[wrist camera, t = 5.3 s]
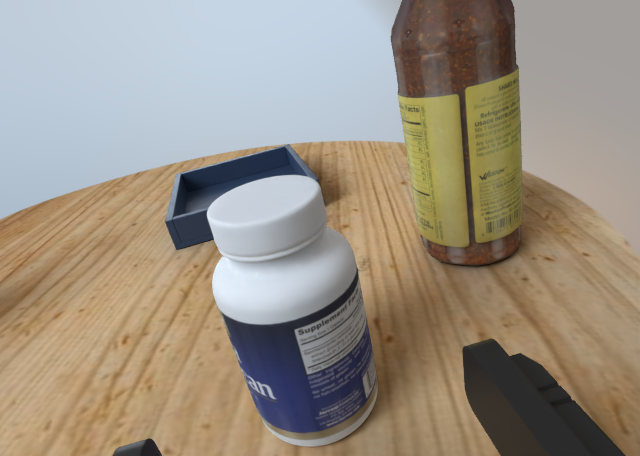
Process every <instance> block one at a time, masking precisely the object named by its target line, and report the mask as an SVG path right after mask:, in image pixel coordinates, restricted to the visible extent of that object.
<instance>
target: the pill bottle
mask: <svg viewBox="0 0 640 456" xmlns="http://www.w3.org/2000/svg"><path fill="white" fill-rule="evenodd" d="M207 218H208V222H209V225H210V227H211V230H212V233H213V237H214V241H215V243H216V245H217V247H218V249H219V251H220V253H221V254H222V255H223V257H222V258H221V259H220V261H219V262H218V264H217V266H216V268H215V271H214V274H213V279H212V289H213V294H214V298H215V301H216V304H217V307H218V310H219V312H220V315H221V317H222V320H223V323H224V325H225V328H226V330H227V333H228V336H229V338H230V341H231V343H232V346H233V349H234V351H235V354H236V356H237V359H238V362H239V364H240V367H241V370H242V372H243V375H244V377H245V380H246V382H247V385H248V387H249V390H250V392H251V395H252V398H253V400H254V403H255V405H256V408H257V411H258V413H259V415H260V417H261V419H262V421H263V423H264V424H265V426H266V427H267V428H268V429H269V430H270V432H272V433H273V434H274V435H275V436H276V437H278V438H279V439H281V440H283V441H285V442H287V443H290V444H293V445H298V446H304V447H314V446H322V445H327V444H330V443H333V442H336V441H338V440H340V439H342V438H344V437H346V436H347V435H349V434H350V433H352V432H353V431H354V430H356V429H357V428H358V427H359V426H360V425H361V424H362V423H363V422H364V421H365V420H366V418H367V417H368V416H369V414H370V412H371V411H372V409H373V407H374V404H375V401H376V398H377V392H378V381H377V372H376V367H375V360H374V355H373V350H372V344H371V339H370V334H369V328H368V323H367V318H366V313H365V307H364V302H363V297H362V291H361V285H360V281H359V275H358V269H357V265H356V261H355V256H354V253H353V250H352V248H351V246H350V244H349V242H348V241H347V240H346V238H345V237H344V236H342V235H341V234H340V233H339V232H337V231H335V230H333V229H331V228H329V227H326V226H327V217H326V209H325V205H324V201H323V197H322V192H321V188H320V185H319V184H318V182H317V181H315V180H314V179H312V178H310V177H307V176H301V175H282V176H274V177H269V178H264V179H260V180H256V181H253V182H250V183H246V184H244V185H241V186H239V187H237V188H234V189H232V190H230V191H228V192H226V193H225V194H223V195H221V196H220V197H219V198H217V199H216V200H215V201H214V202H213V203H212V204H211V205H210V207H209V208H208V211H207Z"/></svg>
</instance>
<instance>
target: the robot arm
mask: <svg viewBox="0 0 640 456" xmlns="http://www.w3.org/2000/svg"><path fill="white" fill-rule="evenodd" d="M463 366H464V382H465V391H466V395H467V398H468V401H469V404H470V406H471V408H472V410H473V412H474V414H475V415H476V417H477V418H478V420H479V422H480V423H481V425H482V426H483V428H484V429H485V431H486V433H487V434H488V436H489V437H490V439H491V441H492V442H493V444H494V445H495V447H496V448H497V450H498V452H499V453H500V455H501V456H625V455H624V454H623V452H622V451H621V450H620V449H619V448H618V447H617V446H616V445H615V444H614V443H613V442H612V441H611V440H610V439H609V437H608V436H607V435H606V434H605V433H604V432H603V431H602V430H601V429H600V428H599V427H598V426H597V425H596V423H595V422H594V421H593V420H592V419H591V418H590V417H589V416H588V415H587V414H586V413H585V412H584V411H583V409H582V408H581V407H580V406H579V405H578V404H577V403H576V402H575V401H574V400H572V399H571V397H570V395H569V394H568V393H567V392H566V391H565V390H564V389H563V388H562V387H561V386H559V385H558V383H557V381H556V380H555V379H554V378H553V377H552V376H551V375H550V374H549V373H548V372H547V371H546V370H545V369H544V368H543V366H542V365H540V364H538V363H537V362H535V361H533V360H531V359H530V358H528V357H526V356H524V355H523V354H521V353H519V354H516V355H512V356H509V355H508V354H507V353H506V352H505V351H504V349H503V348H502V347H501V346H500V345H499V344H498V343H497V341H495V340H494V339H488V340H485V341H481V342H478V343H474V344H471V345H468V346H464V347H463ZM113 456H162V454H161V453H160V451H159V449H158V447H157V446H156V444H155V442H154V441H153V440H152V439H146V440H142V441H139V442H135V443H132V444H129V445H125V446H122V447H119V448H117V449H116V450H115V452H114V454H113Z"/></svg>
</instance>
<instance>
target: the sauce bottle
mask: <svg viewBox="0 0 640 456" xmlns="http://www.w3.org/2000/svg"><path fill="white" fill-rule="evenodd" d="M391 43H392V49H393V55H394V60H395V67H396V72H397V81H398V99H399V104H400V112H401V117H402V124H403V131H404V137H405V144H406V151H407V158H408V164H409V170H410V177H411V183H412V191H413V197H414V204H415V212H416V218H417V224H418V230H419V232H420V234H421V238H422V242H423V244H424V247H425V248H426V249H427V251H428V252H429V253H430V254H431V256H432V257H434V258H436V259H437V260H439V261H440V262H445V263H451V264H461V265H467V266H479V265H483V264H492V263H493V262H497V261H498V260H502V259H505V258H507V257H508V256H510V255H511V254H512V253H514V252H515V250H516V249H517V248H518V246H519V243H520V238H521V225H520V224H521V222H522V220H523V199H522V158H521V157H522V156H521V121H520V96H519V68H518V65H517V64H516V52H515V18H514V6H513V4H512V1H511V0H402V2H401V5H400V8H399V11H398V14H397V16H396V19H395V22H394V25H393V27H392V35H391Z"/></svg>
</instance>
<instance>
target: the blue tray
mask: <svg viewBox="0 0 640 456" xmlns="http://www.w3.org/2000/svg"><path fill="white" fill-rule="evenodd" d="M282 175H301V176H307V177H310V178H312V179H314V180H315V181H317V182H318V184H319V185H320V183H319V179H318V178H317V177H316V175H315V174H314V173H313V172H312V171H311V170H310V168H309V167H308V166H307V165H306V164H305V162H304V161H303V160H302V159H301V158H300V157H299V155H298V154H297V153H296V152H295V151H294V149H293V148H292V147H291V146H290V145H289V144H288V145H285V146H281V147H277V148H273V149H269V150H266V151H262V152H258V153H254V154H251V155H247V156H243V157H239V158H235V159H232V160H228V161H224V162H220V163H216V164H213V165H209V166H205V167H201V168H198V169H194V170H190V171H186V172H182V173H179V174H176V177H175V181H174V185H173V190H172V194H171V198H170V203H169V207H168V212H167V216H166V220H165V223H166V225H167V228H168V230H169V233H170V235H171V238H172V240H173V243H174V244H175V248H176V250H177V249H181V248H184V247H188V246H191V245H195V244H198V243H202V242H205V241H208V240H212V239H214V237H213V233H212V230H211V227H210V225H209V222H208V218H207V211H208V208H209V207H210V205H211V204H212V203H213V202H214V201H215V200H216V199H217V198H219V197H220V196H221V195H223V194H225V193H226V192H228V191H230V190H232V189H234V188H237V187H239V186H241V185H244V184H246V183H250V182H253V181H256V180H260V179H264V178H269V177H274V176H282Z"/></svg>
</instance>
